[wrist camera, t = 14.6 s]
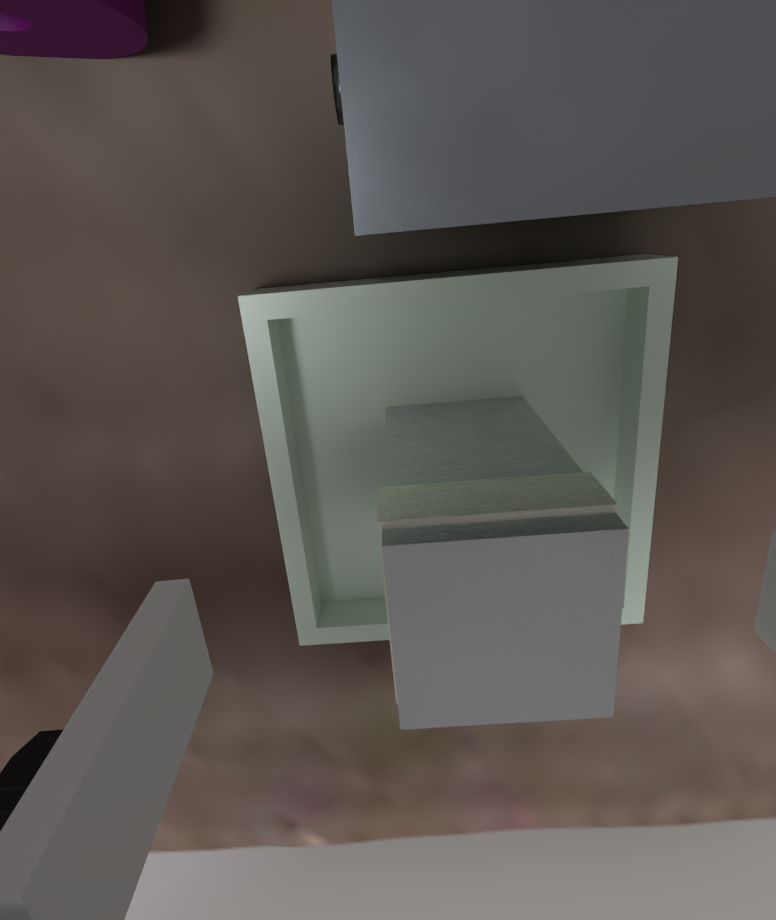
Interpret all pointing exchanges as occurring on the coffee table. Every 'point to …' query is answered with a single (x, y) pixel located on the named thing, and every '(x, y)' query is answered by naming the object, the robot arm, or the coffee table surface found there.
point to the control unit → (551, 107)
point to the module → (496, 569)
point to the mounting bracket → (72, 28)
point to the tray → (447, 380)
